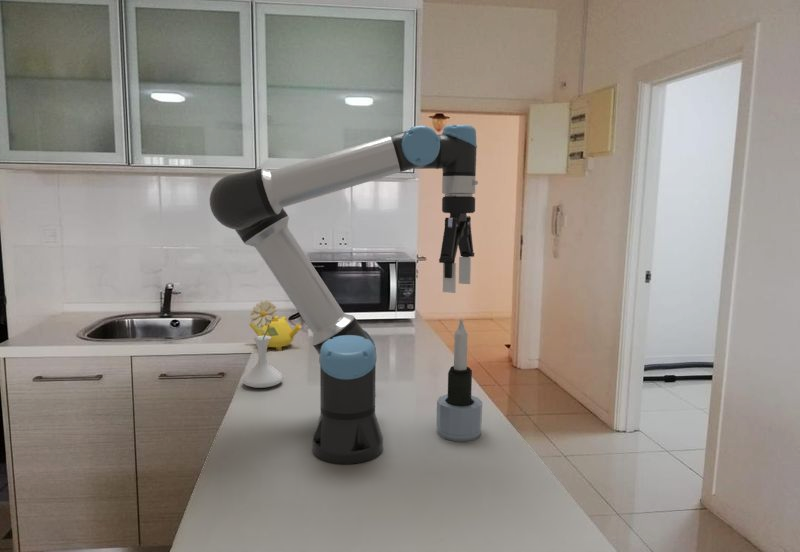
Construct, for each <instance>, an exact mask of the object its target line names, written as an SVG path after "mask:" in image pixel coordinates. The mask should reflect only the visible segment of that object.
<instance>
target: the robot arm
mask: <svg viewBox="0 0 800 552" xmlns="http://www.w3.org/2000/svg"><path fill="white" fill-rule="evenodd" d="M441 133H442V134H437V132H436V131H435V130H434V129H433V128H432V127H429V126H427V125H424V124H423V125H415V126H412V127H410V128H409V129H407V130H405V131H402V132H398V133H395V134H393V135H388V136H384V137H381V138H378V139H375V140H374V139H373V140H371V141H368V142H365V143H361V144H358V145H353V146H351V147H348V148H343V149H341V150H340V149H339V150H337V151H334V152H331V153H328V154H324V155H320V156H317V157H314V158H311V159H307V160H304V161H300V162H297V163H294V164H290V165H286V166H284V167H280V168H277V169H273V170H269V169H268V168H265V167H261V168H258V169H254V170H250V171H247V172H242V173H241V172H240V173H233V174H229V175H226V176H224V177H222V178H221V179H220V180H218V181H217V182H216V183H215V184H214V185H213V187H212V189H211V192H210V195H209V206H210V211H211V213H212V215H213V216H214V218H215V219H216V220H217V221H218V222H219V223H220V224H221V225H223V226H225V227H226V228H228V229H232V230H235V232H236V233H237V235H238V237H239V238H240V239H241V240H242V242H243V244H244V245H246V246H248V247H249V246H251V247H254V248H255V249H256V251H257V252H258V253H259V255H260V257H261V258H262V259H263V261H264V263H265V264H266V266H267V267H268V269H269V270H270V271H271V273H272V274H273V276H274V277H275V279H276V281H277V282H278V284H280V286H281V288H282V289H283V291H284V292H285V294H286V295H287V297H288V298H289V300H290V302H291V303H292V305H293V306H294V307H295V309H296V310H297V312H298V314H299V315H300V316H301V317H302V320H303V321H304V322H305V324H306V326H308V328H309V330H310V332H312V341H311V344H312V346H313V347H314V349H315V350H316V351H317V354H318V355H319V358H318V362H319V366H320V368H319V369H320V370H319V371H320V374H319V375H320V381H319V382H320V395H319V396H320V397H319V398H320V400H319V401H320V407H319V408H320V413H319V418H318V421H317V423H316V426H315V430H314V434H313V435H312V436H313V437H312V441H311V443H312V449H311V450H312V453H313V454H314V455H315V456H316V458H319V459H320V460H322V461H325V462H328V463H332V464H341V465H342V464H343V465H346V464H347V465H349V464H350V465H352V464H358V463H364V462H368V461H370V460H372V459H375V458H377V457H378V456H379V455H380V454H381V453H382V452H383V450H384V436H383V433H382V430H381V427H380V423H379V421H378V418H377V414H376V367H377V365H376V363H377V348H376V344H375V341H374V339H373V338H372V336H371V335H370V334H369V333H368V332H367V331H366V330H365V329H363V328H362V326H361V325H360V323H359V322H358V320H357V319H356V318H355V316H354V315H352V314H347V313H345V312H344V311H343V309H342V307H341V306H340V305H339V303H338V301H336V298H335V297H334V296H333V294H332V292H331V291H330V289H329V288H328V286H327V285H326V283H325V282H324V280H323V278H321V276H320V274H319V272H318V271H317V270H316V269H315V267H314V265H313V264H312V261H310V259H309V258H308V255H307V254H306V253H305V251H304V250H303V248H302V246H301V245H300V244H299V243H298V241H297V239H296V238H295V236H294V234H293V233H292V232H291V230H290V228H289V226H288V225H289V220H290V219H289V218H290V217H289V215H288V214H287V212H286V210H285V208H286V207H289V206H292V205H296V204H299V203H302V202H306V201H309V200H312V199H315V198H319V197H321V196H325V195H329V194H332V193H335V192H339V191H343V190H345V189H348V188H352V187H356V186H358V185H362V184H365V183H369V182H371V181H375V180H379V179H382V178H385V177H388V176H392V175H395V174H398V173H401V172H407V171H409V170H415V169H416V170H423V169H424V170H425V169H429V170H430V169H432V170H433V169H435V170H439V169H440V170H441V171H442V179H441V180H442V183H441V185H442V186H441V187H442V188H441V193H442V194H443V195H444V196H442V198H441V199H442V200H441V211H442V213H443V214H444V213H445V214H449V217H445V218H444V230H443V236H442V243H441V248H440V249H441V250H440V256H439V259H438V263H440V264H442V269H443V270H442V293H449V294H450V293H451V294H453V293H454V294H455V293H456V288H457V287H456V282H457V280H456V278H457V274H456V272H457V263H456V256H457V252H458V250H459V255H460V256H459V257H458V284H459V285H462V284H463V285H464V284H465V285H471V270H472V268H471V264H472V260H471V258H474V257H475V252H474V247H473V246H474V245H473V236H472V227H471V226H472V225H471V220H472V219H471V216H470V215H467V214H474V213H475V212H476V197H475V196H473V195H474V194H476V186H477V185H478V184H479V181H478V180H476V175H477V174H476V173H477V171H476V170H477V168H476V167H477V149H478V146H477V131H476V128H475V127H474V126H472V125H468V124H452V125H451V124H450V125H446V126H444V127H443V129H442V132H441Z"/></svg>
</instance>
